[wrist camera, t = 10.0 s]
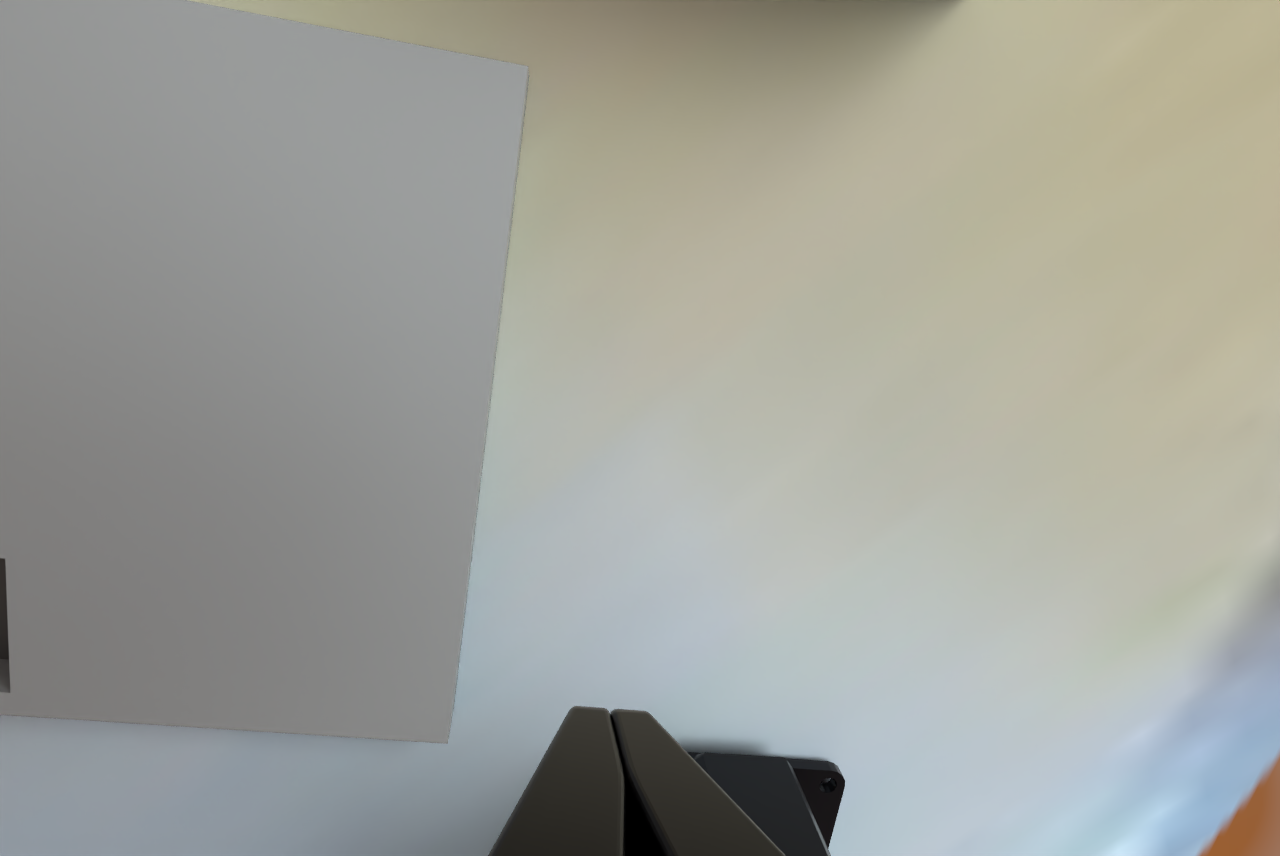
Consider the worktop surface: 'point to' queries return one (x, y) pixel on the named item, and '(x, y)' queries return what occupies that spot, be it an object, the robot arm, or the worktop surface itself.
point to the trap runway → (243, 365)
